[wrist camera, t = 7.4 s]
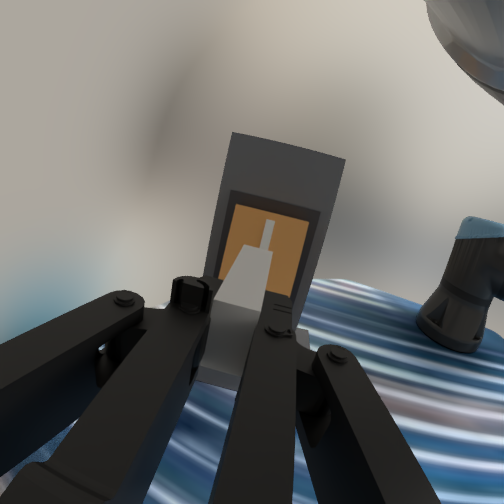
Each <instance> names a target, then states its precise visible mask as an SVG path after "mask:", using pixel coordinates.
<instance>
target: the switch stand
mask: <svg viewBox="0 0 504 504" xmlns="http://www.w3.org/2000/svg"><path fill="white" fill-rule="evenodd" d="M344 165H345V159H342V158H338V157H335V156H331V155H327V154H324V153H320V152H317V151H313V150H309V149H306V148H302V147H297V146H293V145H290V144H286V143H281V142H277V141H273V140H268V139H263V138H259V137H255V136H250V135H245V134H240V133H234V132H232V136H231V140H230V145H229V149H228V154H227V158H226V162H225V168H224V172H223V176H222V181H221V186H220V192H219V195H218V200H217V205H216V210H215V216H214V221H213V225H212V230H211V236H210V241H209V246H208V252H207V257H206V262H205V268H204V273H203V276H205V275H207V276H211V277H214V278H218V277H219V273H220V269H221V265H222V260H223V256H224V252H225V248H226V243H227V239H228V235H229V231H230V227H231V223H232V219H233V215H234V210H235V206H236V204H238V205H243V206H247V207H251V208H255V209H259V210H263V211H267V212H272V213H276V214H280V215H284V216H287V217H291V218H295V219H299V220H303V221H307V222H309V225H308V229H307V233H306V237H305V241H304V245H303V249H302V253H301V257H300V260H299V264H298V268H297V272H296V276H295V279H294V283H293V287H292V291H291V294H290V300H291V301H292V329H293V330H294V331H295V333H296V341H297V342H298V343H299V344H301V345H302V346H304V347H306V348H308V349H310V344H309V333H308V330H305V329H300V328H297V325H298V322H299V319H300V316H301V313H302V310H303V307H304V304H305V301H306V298H307V295H308V291H309V288H310V285H311V282H312V279H313V276H314V272H315V269H316V266H317V262H318V259H319V256H320V253H321V249H322V246H323V242H324V239H325V235H326V232H327V229H328V225H329V221H330V218H331V214H332V211H333V207H334V203H335V200H336V196H337V192H338V188H339V184H340V180H341V177H342V173H343V169H344ZM201 362H202V359H201ZM201 362H200V364H199V369H198V375H197V377H196V379H195V380H198V381H201V382H205V383H208V384H212V385H215V386H219V387H223V388H227V389H230V390H234V391H238V387H239V384H240V381H241V377H240V376H236V375H232V374H228V373H225V372H221V371H217V370H214V369H210V368H207V367H203V366H201Z"/></svg>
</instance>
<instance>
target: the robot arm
mask: <svg viewBox="0 0 504 504" xmlns="http://www.w3.org/2000/svg"><path fill="white" fill-rule="evenodd" d="M424 1H425V2H426V4H427V13H428V17H429V21H430V23H431V26H432V28H433V31H434V32H435V35H436V36H437V38H438V40H439V41H440V43H441V44H442V46H443V47H444V49H445V50H446V51H447V53H448V54H449V55H450V56H451V58H452V59H453V60H454V61H455V62H456V63H457V65H458V66H459V67H460V68H461V69H462V70H463V71H464V72H465V73H466V74H467V75H468V76H469V77H470V78H471V79H472V80H473V81H474V82H475V83H477V84H478V85H479V86H480V87H481V88H483V89H484V90H485V91H486V92H487V93H489V94H490V95H491V96H493V97H494V98H495V99H496V100H498V101H499V102H500V103H502V104H503V105H504V0H424ZM455 239H456V240H455V244H454V247H453V250H452V253H451V255H450V258H449V261H448V264H447V266H446V269H445V272H444V274H443V277H442V280H441V282H440V284H439V287H438V288H437V289H436V290H435V292H434V293H433V294H432V295H431V296H430V297H429V299H428V300H427V301H426V302H425V303H424V305H423V306H422V307H421V309H420V311H419V313H418V315H417V317H416V322H417V324H418V326H419V327H420V329H421V330H422V331H423V332H424V333H425V334H427V335H428V336H429V337H430V338H432V339H433V340H435V341H436V342H438V343H440V344H441V345H443V346H445V347H448V348H450V349H453V350H455V351H459V352H464V353H472V352H475V351H476V350H477V349H478V347H479V345H480V343H481V342H482V339H483V335H484V330H485V324H486V319H487V312H488V309H489V307H490V304H491V302H492V300H493V298H494V297H496V298H498V299H500V300H502V301H504V224H501V223H497V222H493V221H490V220H486V219H481V218H477V217H472V216H469V217H466V218H465V219H464V220H463V221H462V223H461V226H460V229H459V231H458V234H457V236H456V237H455ZM272 254H273V252H272V251H268V250H264V249H260V248H256V247H252V246H249V245H245V244H244V245H243V247H242V249H241V251H240V252H239V254H238V256H237V258H236V260H235V261H234V263H233V265H232V267H231V269H230V270H229V272H228V274H227V276H226V278H225V279H224V280H222V279H218V278H214V277H211V276H207V275H205V276H203V277H200V278H197V277H192V276H181V277H177V278H175V279H173V283H172V291H171V299H170V303H169V304H168V305H167V307H166V308H165V309H153V308H145V307H144V303H145V301H144V299H143V297H141V296H140V295H138V294H137V293H134V292H131V291H127V290H122V291H114V292H110V293H108V294H106V295H104V296H102V297H99V298H97V299H95V300H93V301H91V302H89V303H86V304H84V305H82V306H80V307H78V308H76V309H74V310H72V311H69V312H67V313H65V314H63V315H61V316H59V317H57V318H54V319H52V320H50V321H48V322H46V323H44V324H42V325H40V326H38V327H36V328H34V329H31V330H30V331H27V332H25V333H23V334H21V335H19V336H17V337H15V338H13V339H11V340H9V341H7V342H5V343H3V344H0V477H1V476H3V475H4V474H5V473H7V472H8V471H9V470H11V469H12V468H13V467H15V466H16V465H17V464H19V463H20V462H22V461H23V460H24V459H26V458H27V457H28V456H30V455H31V454H32V453H34V452H35V451H36V450H38V449H39V448H40V447H42V446H43V445H44V444H45V443H47V442H48V441H49V440H51V439H52V438H53V437H55V436H56V435H57V434H59V433H60V432H61V431H63V430H64V429H65V428H66V427H68V426H69V425H70V424H72V423H73V422H74V421H76V420H77V419H78V418H79V417H80V418H79V419H78V420H77V422H76V423H75V424H74V426H73V427H72V428H71V430H70V431H69V432H68V434H67V435H66V437H65V438H64V439H63V441H62V442H61V443H60V445H59V446H58V447H57V449H56V450H55V452H54V453H53V454H52V456H51V457H50V458H49V459H48V460H47V461H45V462H43V463H42V462H31V463H29V464H27V465H25V466H24V467H23V468H22V469H21V470H20V471H19V472H18V473H17V475H16V476H15V478H14V479H13V480H12V482H11V483H10V484H9V486H8V487H7V488H6V490H5V491H4V492H3V494H2V495H1V497H0V504H142V503H143V501H144V498H145V496H146V494H147V491H148V489H149V487H150V484H151V482H152V480H153V477H154V475H155V473H156V470H157V468H158V466H159V463H160V461H161V459H162V456H163V454H164V452H165V449H166V447H167V445H168V442H169V440H170V438H171V435H172V433H173V431H174V428H175V426H176V424H177V421H178V419H179V417H180V414H181V412H182V410H183V407H184V405H185V403H186V400H187V398H188V396H189V393H190V391H191V389H192V386H193V384H194V382H195V379H196V377H197V375H198V369H199V364H200V362H201V359H202V362H201V366H203V367H207V368H210V369H214V370H217V371H221V372H225V373H228V374H232V375H236V376H240V377H241V381H240V384H239V387H238V391H237V394H236V398H235V404H234V408H233V411H232V415H231V419H230V423H229V427H228V431H227V435H226V439H225V442H224V446H223V450H222V454H221V458H220V461H219V465H218V469H217V473H216V477H215V480H214V484H213V488H212V491H211V495H210V499H209V502H208V504H292V494H293V475H294V453H295V426H296V429H297V433H298V436H299V440H300V443H301V446H302V450H303V453H304V457H305V460H306V463H307V467H308V470H309V474H310V477H311V480H312V484H313V487H314V491H315V494H316V497H317V501H318V504H441V502H440V500H439V499H438V497H437V495H436V493H435V491H434V490H433V488H432V486H431V484H430V482H429V481H428V479H427V477H426V475H425V473H424V472H423V470H422V468H421V466H420V465H419V463H418V461H417V459H416V458H415V456H414V454H413V452H412V451H411V449H410V447H409V445H408V444H407V442H406V440H405V438H404V437H403V435H402V433H401V432H400V430H399V428H398V426H397V425H396V423H395V421H394V420H393V418H392V416H391V415H390V413H389V411H388V410H387V408H386V406H385V405H384V403H383V401H382V400H381V398H380V396H379V395H378V393H377V391H376V390H375V388H374V386H373V385H372V383H371V381H370V380H369V378H368V376H367V375H366V373H365V372H364V370H363V368H362V367H361V365H360V363H359V362H358V360H357V359H356V357H355V356H354V355H353V354H352V353H351V352H350V351H348V350H347V349H346V348H343V347H341V346H338V345H331V344H330V345H323V346H321V347H319V349H318V351H317V352H315V351H312V350H310V349H308V348H306V347H304V346H302V345H301V344H299V343H298V342H297V341H296V333H295V331H294V330H293V329H292V301H291V300H290V298H289V297H288V296H287V295H283V294H279V293H275V292H271V291H267V290H265V289H266V284H267V279H268V274H269V269H270V264H271V259H272ZM103 344H105V348H104V349H102V350H99V349H98V348H99V347H101V346H102V345H103Z"/></svg>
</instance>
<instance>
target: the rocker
mask: <svg viewBox="0 0 504 504" xmlns="http://www.w3.org/2000/svg"><path fill="white" fill-rule="evenodd" d="M308 225H309V222H307V221H303V220H299V219H295V218H291V217H287V216H284V215H280V214H276V213H272V212H267V211H263V210H259V209H255V208H251V207H247V206H243V205H238V204H236V206H235V210H234V215H233V219H232V223H231V227H230V231H229V235H228V239H227V243H226V248H225V252H224V256H223V260H222V265H221V269H220V273H219V277H218V279H222V280H224V279H225V278H226V276H227V274H228V272H229V270H230V269H231V267H232V265H233V263H234V261H235V260H236V258H237V256H238V254H239V252H240V251H241V249H242V247H243V245H244V244H245V245H249V246H252V247H256V248H260V249H264V250H268V251H272V252H273V254H272V259H271V264H270V269H269V274H268V279H267V284H266V289H265V290H267V291H271V292H275V293H279V294H283V295H287V296H288V297H289V298H290V294H291V291H292V287H293V283H294V279H295V276H296V272H297V268H298V264H299V260H300V257H301V253H302V249H303V245H304V241H305V237H306V233H307V229H308Z"/></svg>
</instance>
